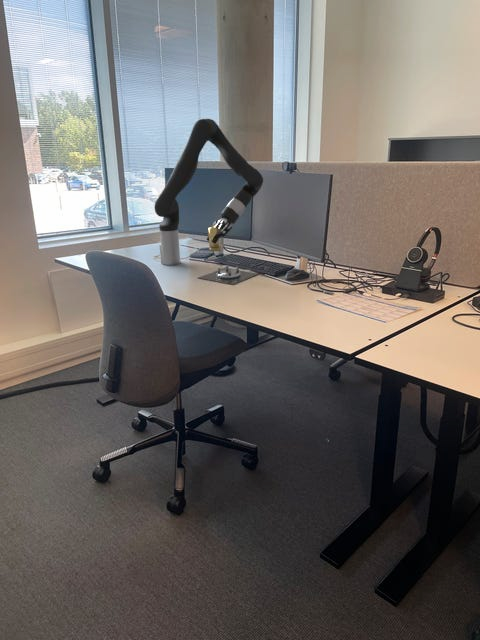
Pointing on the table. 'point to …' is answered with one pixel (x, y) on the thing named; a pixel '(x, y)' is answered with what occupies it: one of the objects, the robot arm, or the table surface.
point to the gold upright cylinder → (212, 233)
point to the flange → (228, 276)
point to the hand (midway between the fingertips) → (210, 241)
